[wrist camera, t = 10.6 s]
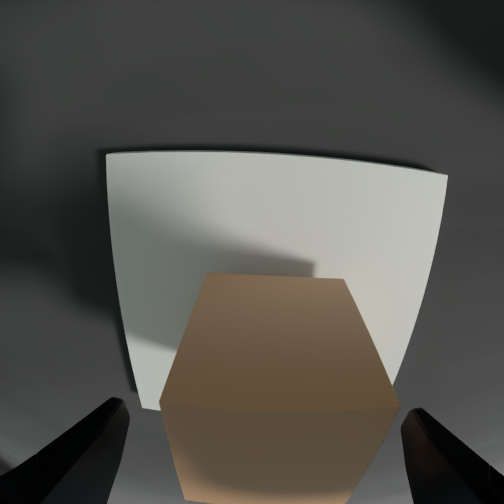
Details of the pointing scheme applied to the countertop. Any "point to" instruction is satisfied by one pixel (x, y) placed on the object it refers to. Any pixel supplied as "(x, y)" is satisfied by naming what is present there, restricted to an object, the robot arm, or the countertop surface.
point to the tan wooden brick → (275, 393)
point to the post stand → (265, 239)
